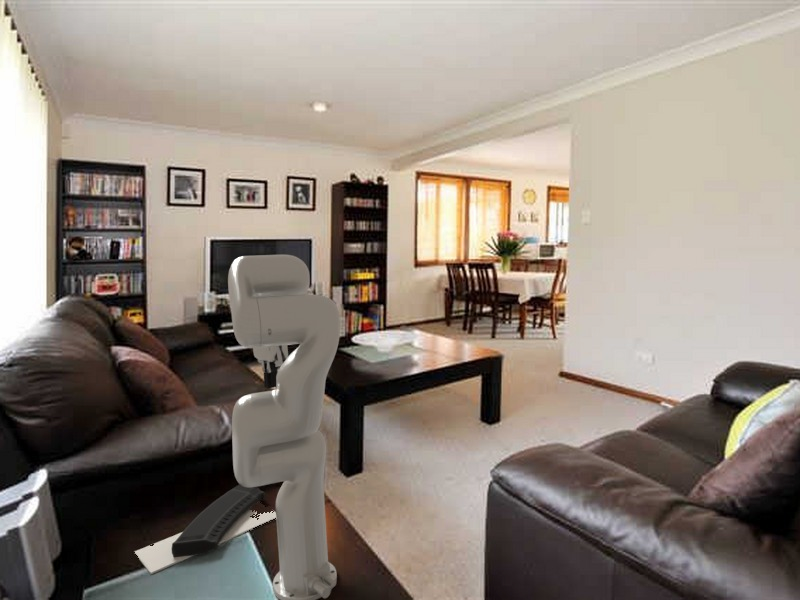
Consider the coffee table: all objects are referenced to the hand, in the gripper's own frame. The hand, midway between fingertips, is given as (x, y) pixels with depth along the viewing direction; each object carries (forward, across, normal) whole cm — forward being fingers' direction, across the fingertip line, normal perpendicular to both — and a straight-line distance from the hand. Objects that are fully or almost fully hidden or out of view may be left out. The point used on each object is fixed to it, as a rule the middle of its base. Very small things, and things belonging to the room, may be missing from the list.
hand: (271, 386), depth 125 cm
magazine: (+31, +10, +16) cm, 36 cm away
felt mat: (+33, +3, +17) cm, 37 cm away
